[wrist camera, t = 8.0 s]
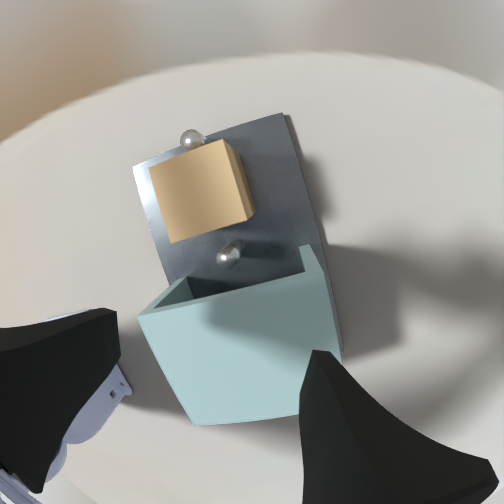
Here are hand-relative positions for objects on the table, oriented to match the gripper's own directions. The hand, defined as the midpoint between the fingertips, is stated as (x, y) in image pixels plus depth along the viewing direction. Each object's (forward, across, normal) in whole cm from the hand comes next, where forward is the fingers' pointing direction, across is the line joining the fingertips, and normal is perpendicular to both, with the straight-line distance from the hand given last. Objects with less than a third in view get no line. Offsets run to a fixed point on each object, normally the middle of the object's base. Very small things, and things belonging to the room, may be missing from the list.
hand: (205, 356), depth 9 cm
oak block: (+10, +2, -5) cm, 11 cm away
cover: (+10, -1, +3) cm, 10 cm away
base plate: (+10, 0, -1) cm, 10 cm away
